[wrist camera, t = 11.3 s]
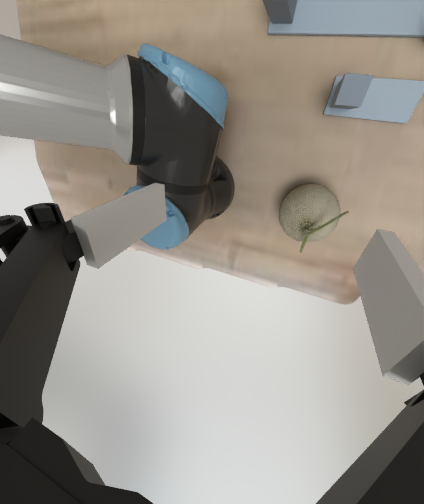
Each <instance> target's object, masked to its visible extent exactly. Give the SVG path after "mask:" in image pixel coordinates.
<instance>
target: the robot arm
mask: <svg viewBox="0 0 424 504" xmlns="http://www.w3.org/2000/svg"><path fill="white" fill-rule="evenodd" d="M138 56H139V58H136V57H133V56H130V55H127V54H124V53H122V54H121V55H120V56H119V57H117V58H116V59H115V60H114V61H113V62H112V63H111V64H108V65H102V64H98V63H95V62H92V61H88V60H85V59H81V58H78V57H75V56H71V55H68V54H64V53H61V52H58V51H54V50H51V49H48V48H44V47H41V46H37V45H34V44H31V43H27V42H24V41H21V40H17V39H14V38H10V37H7V36H3V35H0V135H2V136H9V137H17V138H25V139H32V140H40V141H48V142H55V143H63V144H71V145H78V146H86V147H93V148H101V149H109V150H112V151H113V152H115V153H116V154H117V155H118V156H119V157H120V158H121V159H122V161H123V162H124V163H126V164H131V165H137V185H136V186H133V187H131V188H129V190H128V191H127V192H126V193H125V194H124V195H123V196H122V197H120V198H117V199H115V200H113V201H110V202H108V203H105V204H103V205H101V206H98V207H96V208H93V209H91V210H89V211H86V212H84V213H82V214H79V215H77V216H74V217H72V218H71V220H69V221H67V222H65V221H64V219H63V216H62V213H61V211H60V208H59V206H58V205H57V204H54V203H40V204H35V205H32V206H29V207H27V208H25V209H24V210H25V212H26V214H27V216H28V218H29V220H30V222H31V224H32V226H27V225H26V224H25V222H24V220H23V218H22V217H21V216H16V215H11V216H10V215H6V216H1V217H0V248H1V249H2V251H3V252H4V254H5V255H6V257H7V258H6V259H5V261H4V262H2V261H1V260H0V504H153V503H152V502H150V501H149V500H148V499H146V498H145V497H143V496H142V495H141V494H139V493H138V492H133V491H129V490H124V489H119V488H114V487H109V486H105V484H104V482H103V481H102V479H101V477H100V476H99V474H98V473H97V471H96V469H95V467H94V466H93V464H92V463H90V462H89V461H88V460H87V459H86V458H84V457H83V456H82V455H81V454H80V453H79V452H77V451H76V450H75V449H74V448H72V447H71V446H70V445H69V444H68V443H67V442H66V441H64V440H63V439H62V438H60V437H59V436H58V435H56V434H55V433H53V432H52V431H51V430H49V429H48V428H46V427H45V426H44V425H42V421H43V405H42V391H43V388H44V384H45V381H46V378H47V374H48V371H49V367H50V364H51V361H52V358H53V354H54V351H55V348H56V344H57V341H58V337H59V334H60V331H61V328H62V324H63V321H64V318H65V314H66V311H67V308H68V304H69V301H70V298H71V294H72V291H73V287H74V284H75V281H76V277H77V274H78V271H79V267H80V261H79V258H80V257H82V256H84V257H85V259H86V262H87V265H90V266H92V267H95V268H100V267H101V266H103V265H104V264H105V263H107V262H108V261H110V260H111V259H112V258H114V257H115V256H117V255H118V254H120V253H121V252H122V251H124V250H125V249H127V248H128V247H129V246H131V245H132V244H134V243H135V242H136V241H138V240H139V239H141V240H142V241H143V242H145V243H146V244H148V245H150V246H152V247H155V248H158V249H171V248H174V247H176V246H177V245H179V244H180V243H182V242H184V241H185V240H186V239H187V238H188V236H189V235H190V234H191V233H192V232H193V231H194V230H195V229H196V228H197V227H198V226H199V225H200V224H201V223H202V222H203V221H204V220H206V219H211V218H215V217H217V216H219V215H221V214H222V213H223V212H224V211H225V210H226V209H227V208H228V207H229V205H230V204H231V202H232V199H233V196H234V181H233V177H232V175H231V172H230V171H229V169H228V167H227V166H226V165H225V164H224V163H223V162H222V161H221V160H220V159H219V158H217V157H216V153H217V149H218V145H219V141H220V137H221V133H222V129H224V119H225V114H226V109H227V104H228V94H227V91H226V88H225V87H224V85H223V84H222V83H221V82H219V81H218V80H217V79H215V78H214V77H212V76H211V75H209V74H207V73H206V72H204V71H202V70H201V69H199V68H197V67H195V66H193V65H192V64H190V63H188V62H186V61H184V60H182V59H180V58H178V57H176V56H174V55H170V54H169V53H167V52H165V51H163V50H161V49H159V48H157V47H155V46H152V45H150V44H142V45H141V46H140V50H139V51H138ZM353 270H354V274H355V277H356V281H357V285H358V288H359V292H360V295H361V299H362V303H363V306H364V310H365V313H366V317H367V321H368V324H369V328H370V331H371V335H372V338H373V342H374V346H375V350H376V353H377V357H378V360H379V364H380V368H381V371H382V375H383V376H385V377H388V378H390V379H393V380H396V381H398V382H401V383H404V384H406V385H409V384H411V383H412V382H413V381H415V380H416V379H418V378H419V377H420V378H421V380H422V383H423V385H424V273H423V272H422V270H421V269H420V268H419V266H418V265H417V263H416V262H415V261H414V259H413V258H412V257H411V255H410V254H409V252H408V251H407V250H406V248H405V247H404V245H403V244H402V243H401V241H400V240H399V238H398V237H397V236H396V234H395V233H394V232H390V231H385V230H380V229H377V230H376V232H375V234H374V235H373V237H372V238H371V240H370V242H369V243H368V245H367V247H366V248H365V250H364V252H363V253H362V255H361V257H360V258H359V260H358V262H357V263H356V265H355V267H354V268H353ZM404 403H405V404H406V405H407V406H406V407H405V408H404V409H403V410H402V411H401V412H400V413H399V415H398V416H397V417H396V418H395V419H394V420H393V421H392V422H391V423H390V424H389V425H388V426H387V427H386V429H385V430H384V431H383V432H382V433H381V434H380V435H379V436H378V437H377V438H376V439H375V440H374V442H373V443H372V444H371V445H370V446H369V447H368V448H367V449H366V450H365V451H364V453H362V454H361V456H360V457H359V458H358V459H357V460H356V461H355V462H354V463H353V464H352V465H351V466H350V467H349V468H348V470H347V471H346V472H345V473H344V474H343V475H342V476H341V477H340V478H339V479H338V481H336V483H335V484H334V485H333V486H332V487H331V488H330V489H329V490H328V491H327V492H326V493H325V495H323V497H322V498H321V499H320V500H319V501H318V502H317V503H316V504H424V390H423V391H421V392H420V393H418V394H417V395H415V396H413V397H412V398H411V399H409V400H407V401H406V402H404Z"/></svg>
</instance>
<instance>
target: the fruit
mask: <svg viewBox="0 0 424 504" xmlns="http://www.w3.org/2000/svg"><path fill="white" fill-rule="evenodd" d="M347 213H349V211H347V212H344V213H342V214H341V215H340V205H339V201H338V199H337V197H336V196H335V195H334V193H333V192H331V191H330V190H329V189H327V188H326V187H324V186H321V185H318V184H305V185H301V186H299V187H297V188H295V189H293V190H292V191H291V192H289V193H288V194H287V196H286V197H285V198H284V200H283V202H282V204H281V207H280V211H279V221H280V224H281V227H282V229H283V230H284V232H285V233H286V234H287V235H288V236H289V237H291V238H293V239H295V240H297V241H303V243H302V246H301V249H300V253H302V250H303V248H304V246H305V243H306V242H313V241H317V240H320V239H322V238H324V237H326V236H327V235H329V234H330V233H331V232H332V231H333V230H334V229H335V227H336V225H337V223H338V221H339V218H340V217H342V216H343V215H345V214H347Z"/></svg>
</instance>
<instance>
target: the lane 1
mask: <svg viewBox="0 0 424 504" xmlns="http://www.w3.org/2000/svg"><path fill="white" fill-rule="evenodd" d="M263 3H264V5H265V7H266V10H267V12H268V15H269V17H270V21H269V27H268V35H303V36H362V37H421V38H424V0H263Z"/></svg>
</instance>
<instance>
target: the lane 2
mask: <svg viewBox="0 0 424 504" xmlns="http://www.w3.org/2000/svg"><path fill="white" fill-rule="evenodd" d="M373 77H374V75H361V74H345V75H344V76H336V79H335V82H334V85H333V88H332V91H331V94H330V97H329V100H328V102H327V105H326V108H325V111H324V115H333V116H342V117H352V118H361V119H370V120H379V121H388V122H397V123H407V122H408V120H409V118H410V116H411V114H412V113H413V111H414V109H415V107H416V105H417V103H418V102H419V100H420V98H421V96H422V94H423V93H424V81H415V80H399V79H383V78H373Z"/></svg>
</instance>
